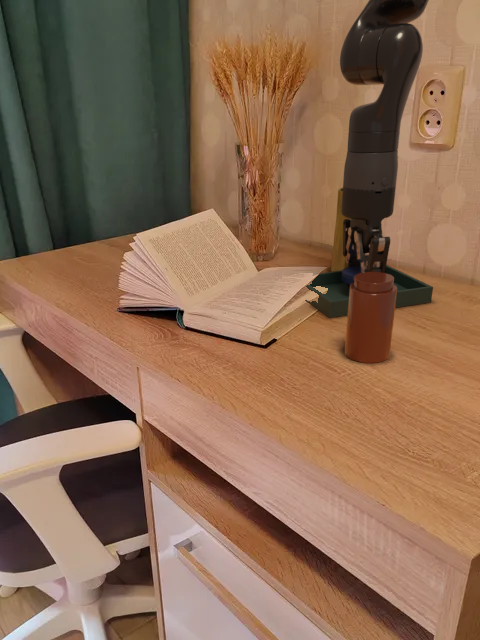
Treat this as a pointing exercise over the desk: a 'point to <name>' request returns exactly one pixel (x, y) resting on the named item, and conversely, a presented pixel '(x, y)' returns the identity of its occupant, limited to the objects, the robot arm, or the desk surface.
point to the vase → (339, 238)
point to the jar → (370, 317)
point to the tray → (338, 291)
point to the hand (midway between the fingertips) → (360, 291)
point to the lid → (350, 274)
